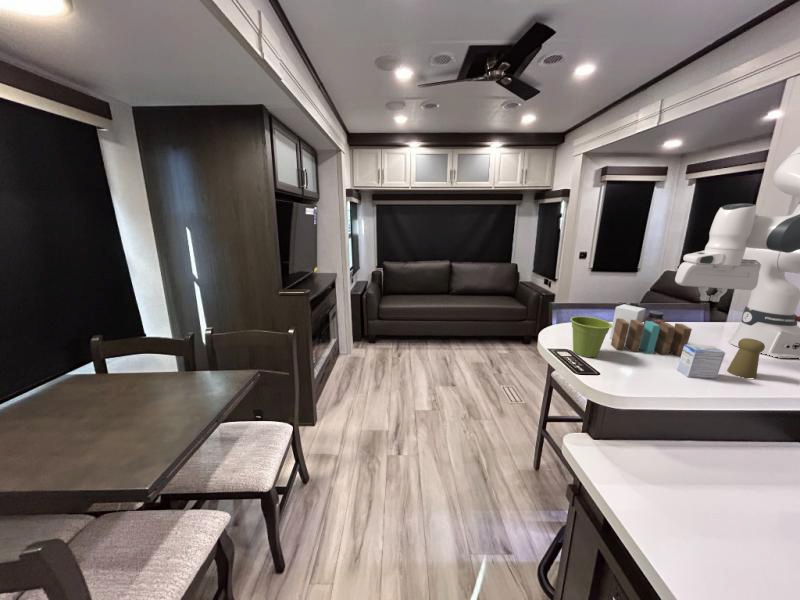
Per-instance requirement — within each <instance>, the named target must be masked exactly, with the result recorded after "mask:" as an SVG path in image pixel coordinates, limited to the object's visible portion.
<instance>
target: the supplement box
mask: <svg viewBox="0 0 800 600" xmlns="http://www.w3.org/2000/svg"><path fill="white" fill-rule="evenodd" d="M646 310H647V309H646V308H644V307H640V306H639V307H638V306H634V305H631V304H630V305H629V304H625V303H623V304H621V305H617V306H615V310H614V315H613V320H612V323H611V324H612V327H611V328H610V329H611V330H610V335H609V339H611V340H612V337H613V332H614V328H615V323H616V319H617V318H619V319H624V320H625V321H627V322H628V323H630V322H631V320H638V321H640V322H641V323H643V324H644V320H645V314H646ZM629 326H630V324H629ZM628 330H629V328H628ZM627 334H628V333H627ZM626 339H627V337H626ZM625 343H626V341H625Z"/></svg>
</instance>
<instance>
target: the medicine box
mask: <svg viewBox="0 0 800 600" xmlns="http://www.w3.org/2000/svg"><path fill="white" fill-rule="evenodd" d="M725 355H726V352H725V351H724V350H722V349H719V348H718V347H715V346H714V345H702V344H699V345H698V344H687V345H684V348H683V351H682V355H681V357H679V361H678V365H677V368H676V370H677V371H678V373H679V372H680V373H681V374H682V375H683V376H685V377H687V378H699V379H700V378H701V379H717V378H718V376H719V373H720V370H721V367H722V364H723V360H724V358H725Z"/></svg>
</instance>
